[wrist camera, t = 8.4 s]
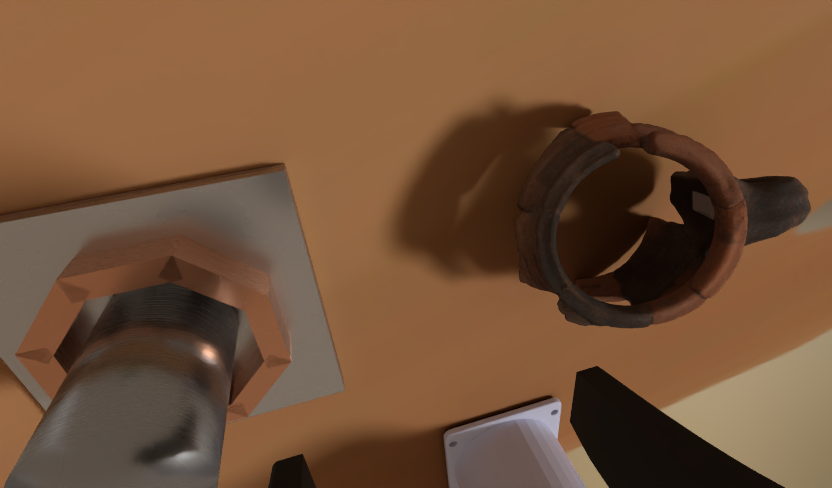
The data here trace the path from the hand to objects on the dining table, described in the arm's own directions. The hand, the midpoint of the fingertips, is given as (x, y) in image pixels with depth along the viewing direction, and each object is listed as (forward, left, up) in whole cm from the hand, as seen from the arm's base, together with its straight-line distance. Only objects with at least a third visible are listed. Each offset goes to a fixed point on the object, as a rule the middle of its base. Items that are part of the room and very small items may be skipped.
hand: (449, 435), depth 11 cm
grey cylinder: (-1, +9, -9) cm, 13 cm away
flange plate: (-2, +9, -10) cm, 13 cm away
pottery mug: (0, -11, -10) cm, 15 cm away
